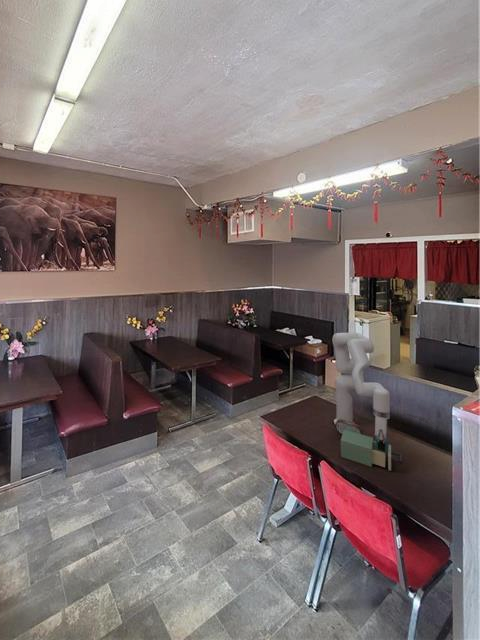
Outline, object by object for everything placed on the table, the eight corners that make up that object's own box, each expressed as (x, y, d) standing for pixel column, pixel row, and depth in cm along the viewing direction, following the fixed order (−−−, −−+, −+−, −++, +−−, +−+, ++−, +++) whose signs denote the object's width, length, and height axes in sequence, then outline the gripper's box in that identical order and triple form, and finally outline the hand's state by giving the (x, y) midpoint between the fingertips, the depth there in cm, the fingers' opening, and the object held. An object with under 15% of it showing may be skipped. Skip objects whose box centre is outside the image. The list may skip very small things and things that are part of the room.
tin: (363, 440, 180) (363, 425, 180) (361, 442, 178) (361, 428, 178) (336, 430, 190) (336, 416, 190) (335, 432, 188) (334, 418, 188)
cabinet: (373, 454, 167) (373, 437, 167) (371, 467, 156) (371, 449, 157) (343, 445, 175) (343, 429, 175) (340, 456, 164) (340, 439, 165)
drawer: (402, 462, 159) (402, 448, 159) (402, 474, 150) (402, 459, 150) (362, 449, 169) (362, 436, 169) (360, 460, 160) (360, 447, 160)
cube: (376, 443, 163) (376, 434, 163) (387, 446, 160) (387, 437, 160) (375, 448, 159) (375, 438, 159) (387, 451, 156) (387, 442, 156)
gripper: (374, 404, 169) (374, 437, 169) (372, 417, 155) (372, 453, 155) (390, 408, 165) (390, 441, 165) (389, 422, 151) (389, 458, 150)
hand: (381, 446), depth 160 cm, fingers closed on cube, 4 cm apart
